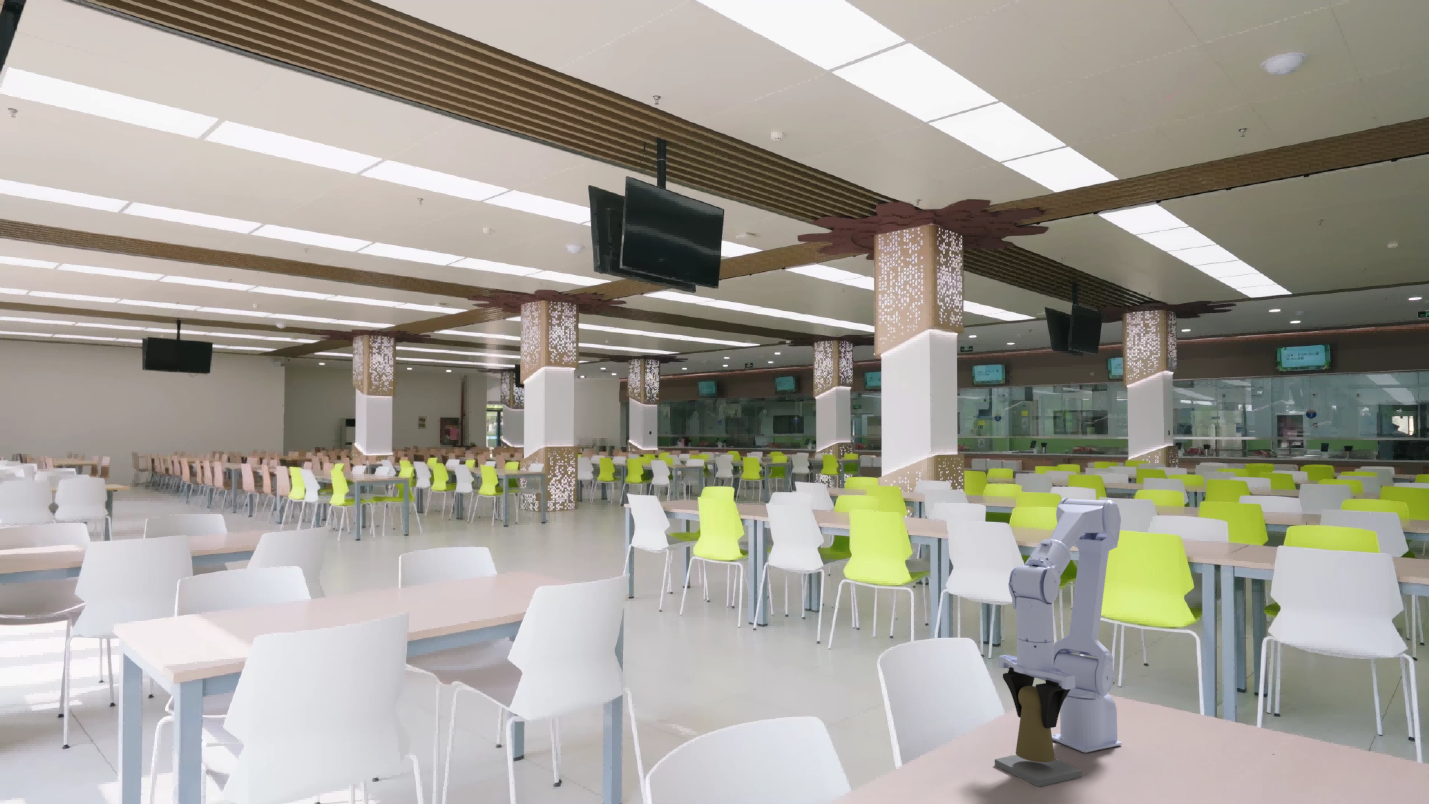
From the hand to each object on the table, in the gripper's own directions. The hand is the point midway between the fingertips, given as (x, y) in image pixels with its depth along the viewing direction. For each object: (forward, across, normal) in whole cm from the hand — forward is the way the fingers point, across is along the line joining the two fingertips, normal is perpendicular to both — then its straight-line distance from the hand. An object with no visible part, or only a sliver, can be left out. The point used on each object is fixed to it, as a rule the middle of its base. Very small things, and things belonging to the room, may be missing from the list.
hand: (1036, 721), depth 134 cm
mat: (+8, 0, 0) cm, 8 cm away
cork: (+6, 0, -1) cm, 6 cm away
